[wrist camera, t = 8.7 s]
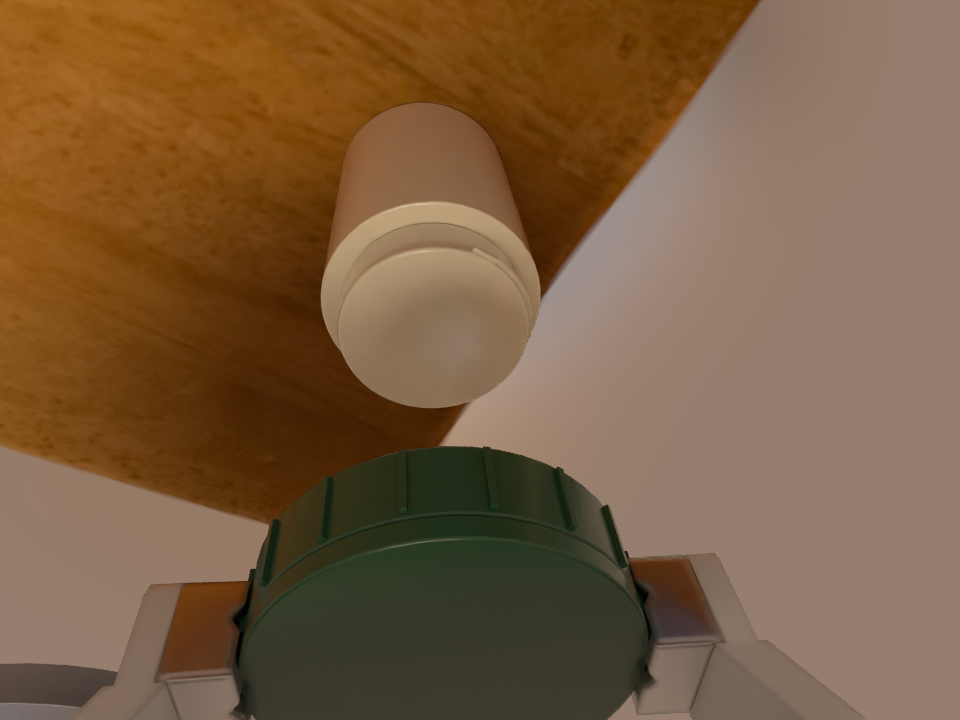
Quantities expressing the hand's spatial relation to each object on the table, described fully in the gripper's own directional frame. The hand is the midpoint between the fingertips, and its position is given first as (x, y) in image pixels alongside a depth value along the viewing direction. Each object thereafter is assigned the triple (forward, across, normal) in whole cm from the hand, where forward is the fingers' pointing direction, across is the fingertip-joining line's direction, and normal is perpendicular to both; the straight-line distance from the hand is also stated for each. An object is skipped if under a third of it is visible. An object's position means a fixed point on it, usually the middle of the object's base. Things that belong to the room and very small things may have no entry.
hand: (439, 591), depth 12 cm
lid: (-1, 0, 0) cm, 1 cm away
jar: (+17, 0, 0) cm, 17 cm away
